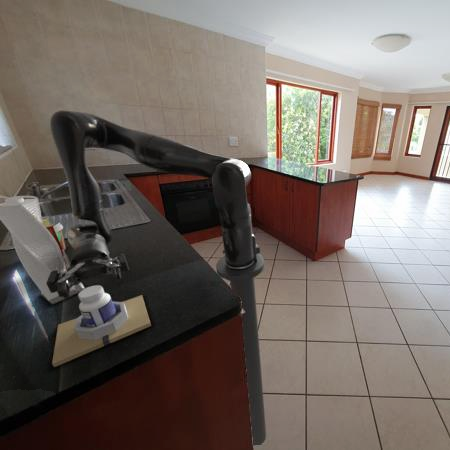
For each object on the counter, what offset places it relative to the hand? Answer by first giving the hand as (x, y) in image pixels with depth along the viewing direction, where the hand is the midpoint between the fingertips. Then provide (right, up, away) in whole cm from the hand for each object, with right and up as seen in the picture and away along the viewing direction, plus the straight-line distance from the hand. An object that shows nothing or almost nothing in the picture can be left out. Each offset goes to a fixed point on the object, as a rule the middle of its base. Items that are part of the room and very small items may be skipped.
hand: (91, 286), depth 51 cm
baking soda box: (-30, -1, +21) cm, 37 cm away
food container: (-42, +3, +30) cm, 51 cm away
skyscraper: (-19, -5, +12) cm, 24 cm away
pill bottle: (+1, -9, +2) cm, 9 cm away
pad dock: (+1, -10, +2) cm, 10 cm away
